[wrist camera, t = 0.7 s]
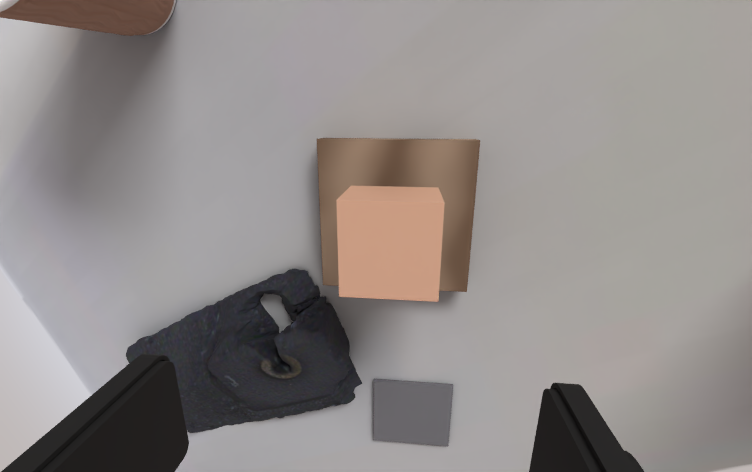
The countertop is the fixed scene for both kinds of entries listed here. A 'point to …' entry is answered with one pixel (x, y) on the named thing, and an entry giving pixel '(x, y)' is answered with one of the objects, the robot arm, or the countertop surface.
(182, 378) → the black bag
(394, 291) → the peach colored cube
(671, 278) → the countertop surface
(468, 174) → the square brown stand
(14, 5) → the coffee cup
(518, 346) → the countertop surface
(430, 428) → the mat
